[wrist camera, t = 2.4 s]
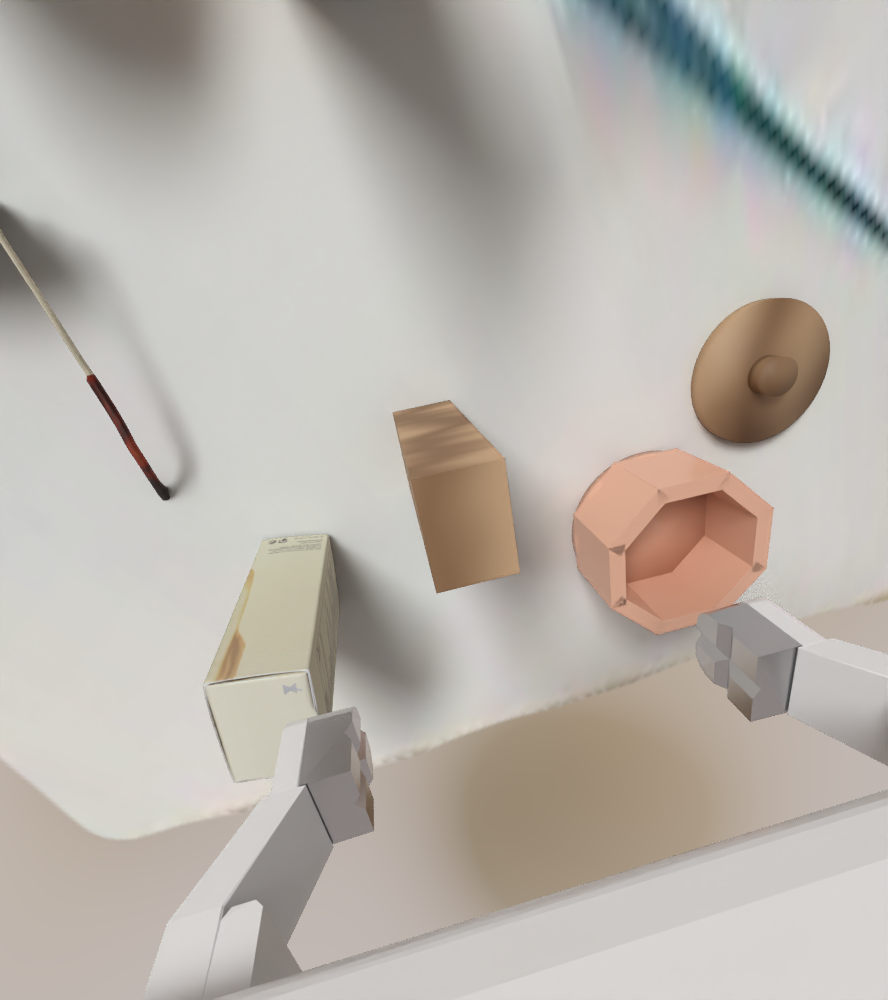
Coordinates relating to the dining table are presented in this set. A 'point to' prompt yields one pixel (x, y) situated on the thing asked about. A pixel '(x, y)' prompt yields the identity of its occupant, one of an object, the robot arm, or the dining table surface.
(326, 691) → the skincare box
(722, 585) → the jar
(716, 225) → the dining table surface
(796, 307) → the jar lid
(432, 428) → the brown wooden block
